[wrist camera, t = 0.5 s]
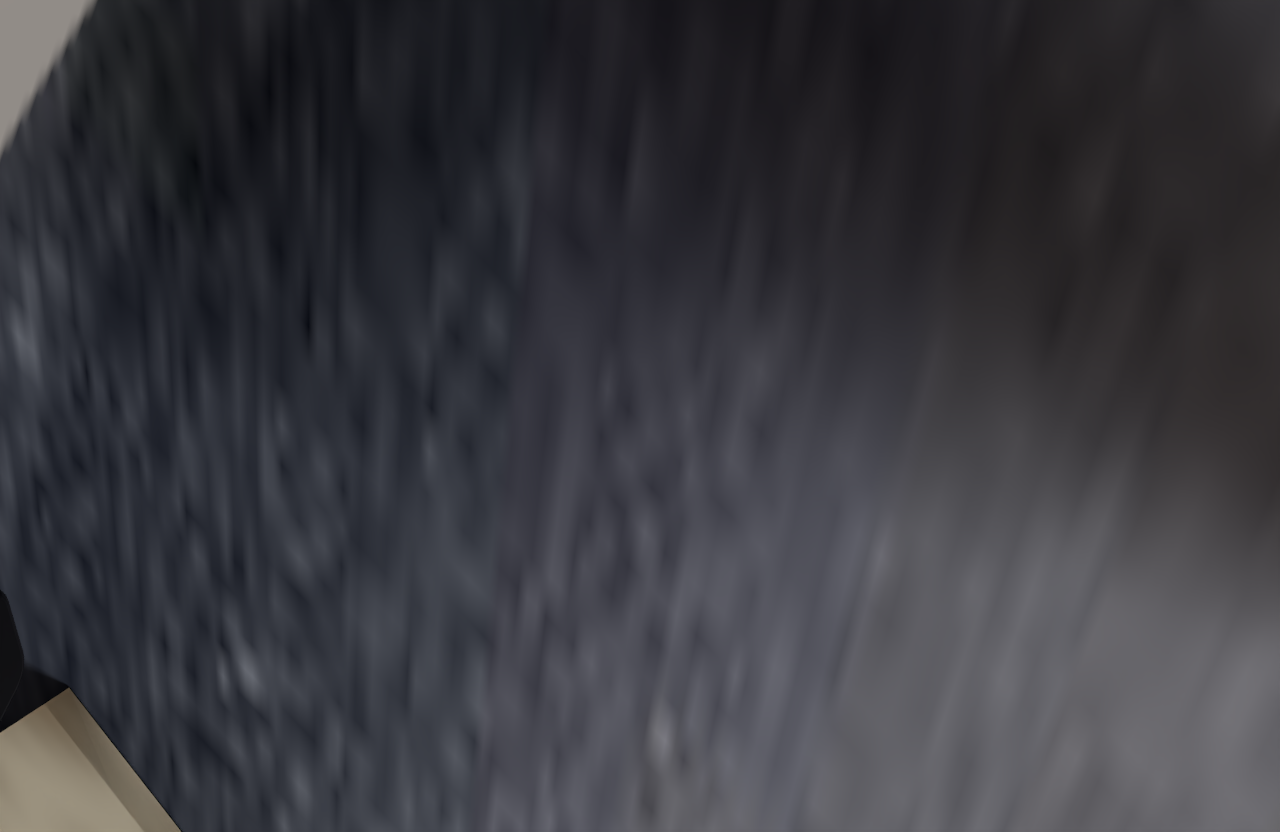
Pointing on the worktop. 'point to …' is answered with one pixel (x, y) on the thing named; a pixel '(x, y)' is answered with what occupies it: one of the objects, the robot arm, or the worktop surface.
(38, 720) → the bottle rest
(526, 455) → the worktop surface
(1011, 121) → the worktop surface
